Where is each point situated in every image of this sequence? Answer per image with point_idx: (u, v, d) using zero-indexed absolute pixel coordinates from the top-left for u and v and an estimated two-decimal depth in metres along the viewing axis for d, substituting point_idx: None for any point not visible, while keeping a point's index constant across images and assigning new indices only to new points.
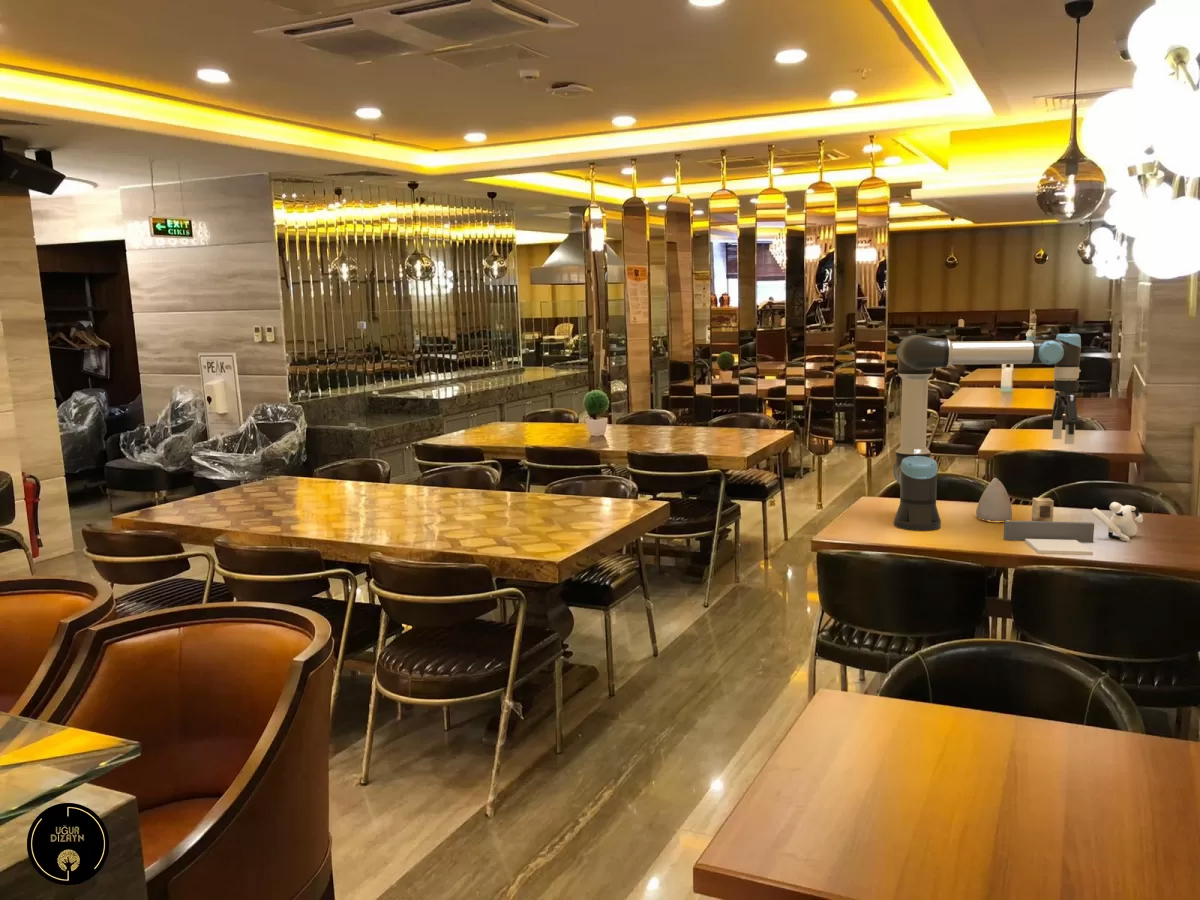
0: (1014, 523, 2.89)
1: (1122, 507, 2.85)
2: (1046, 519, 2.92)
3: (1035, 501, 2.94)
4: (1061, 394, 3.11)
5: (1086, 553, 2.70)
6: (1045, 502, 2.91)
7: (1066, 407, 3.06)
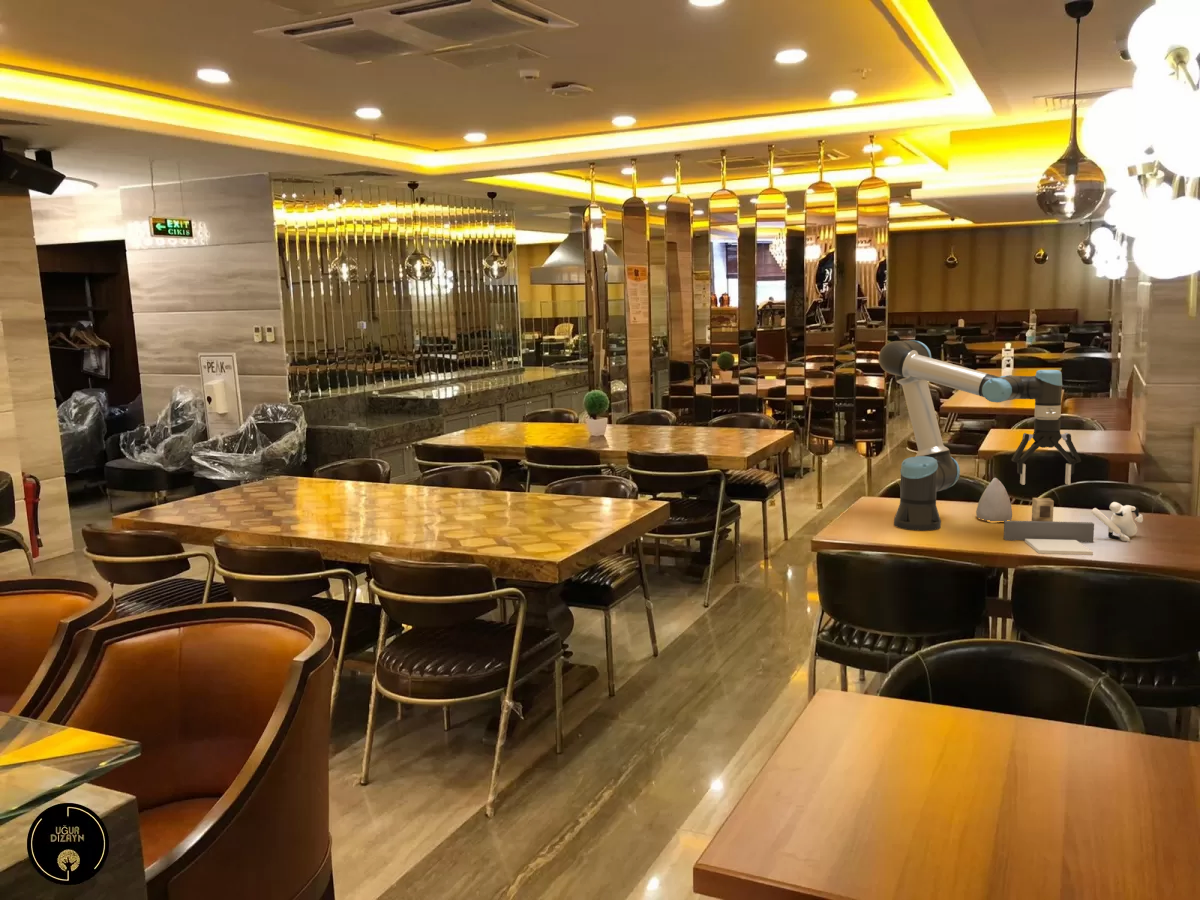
0: (1014, 523, 2.89)
1: (1122, 507, 2.85)
2: (1046, 519, 2.92)
3: (1035, 501, 2.94)
4: None
5: (1086, 553, 2.70)
6: (1045, 502, 2.91)
7: (1031, 446, 2.93)
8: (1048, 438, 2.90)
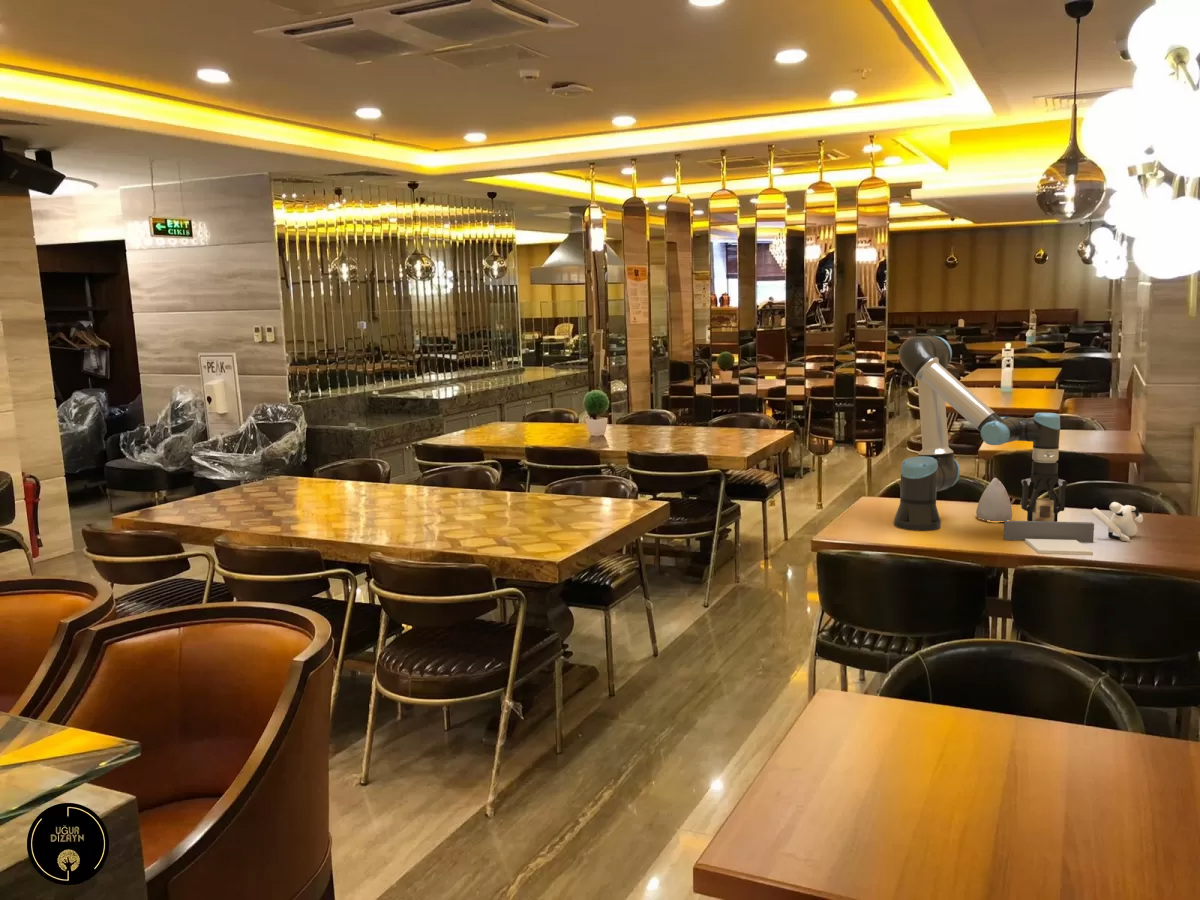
0: (1014, 523, 2.89)
1: (1122, 507, 2.85)
2: (1046, 519, 2.92)
3: None
4: None
5: (1086, 553, 2.70)
6: (1045, 502, 2.91)
7: (1033, 491, 2.95)
8: (1046, 479, 2.92)
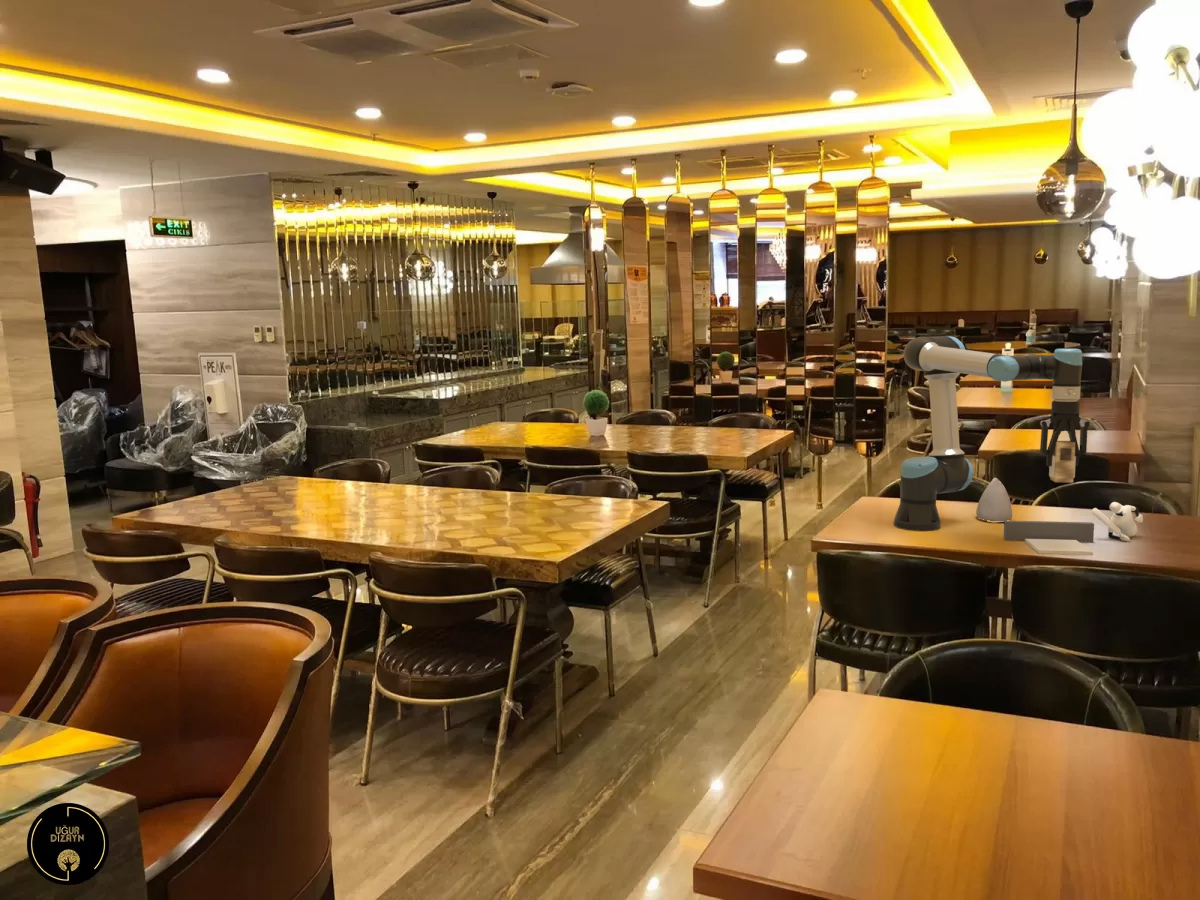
0: (1014, 523, 2.89)
1: (1122, 507, 2.85)
2: (1067, 462, 2.73)
3: None
4: None
5: (1086, 553, 2.70)
6: (1066, 444, 2.72)
7: (1053, 433, 2.75)
8: (1067, 420, 2.72)
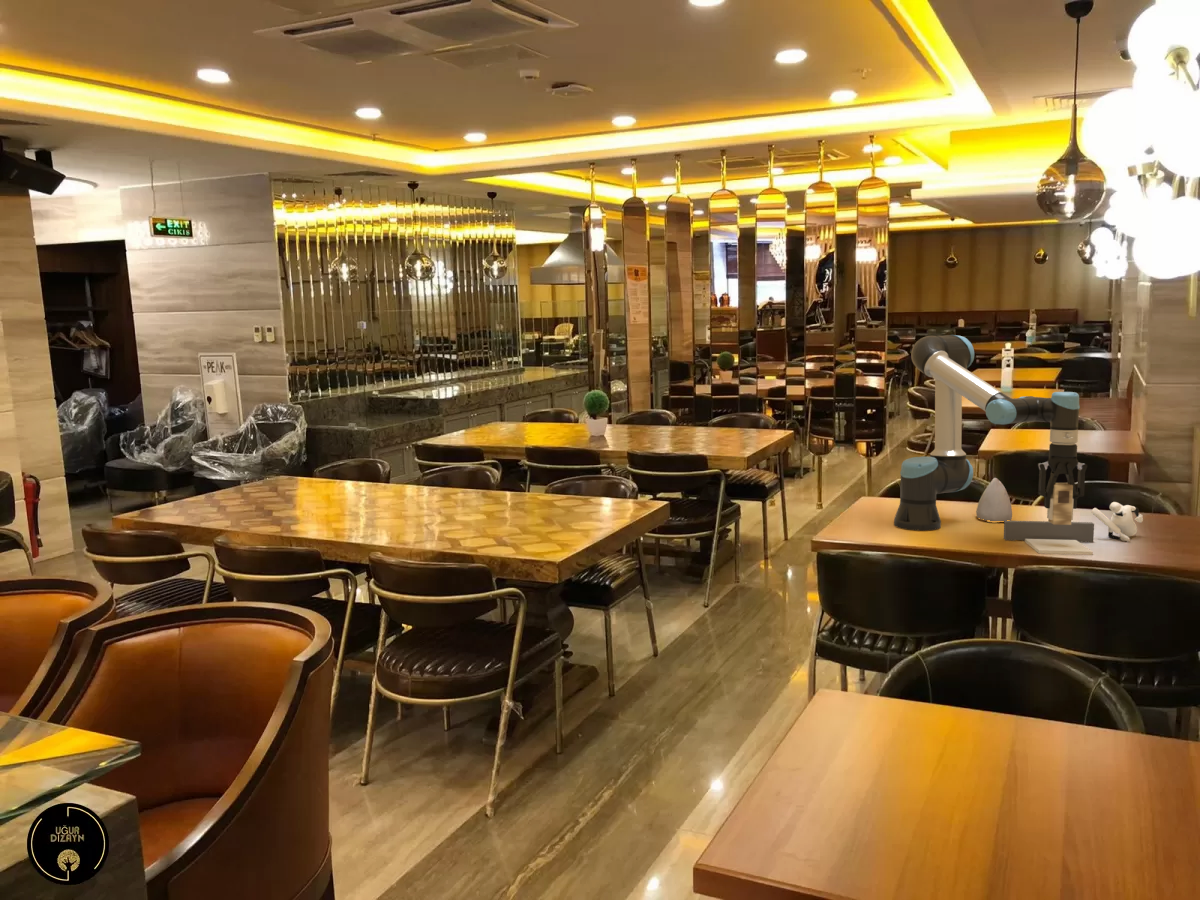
0: (1014, 523, 2.89)
1: (1122, 507, 2.85)
2: (1065, 505, 2.74)
3: None
4: None
5: (1086, 553, 2.70)
6: (1064, 487, 2.74)
7: (1050, 476, 2.77)
8: (1064, 463, 2.74)
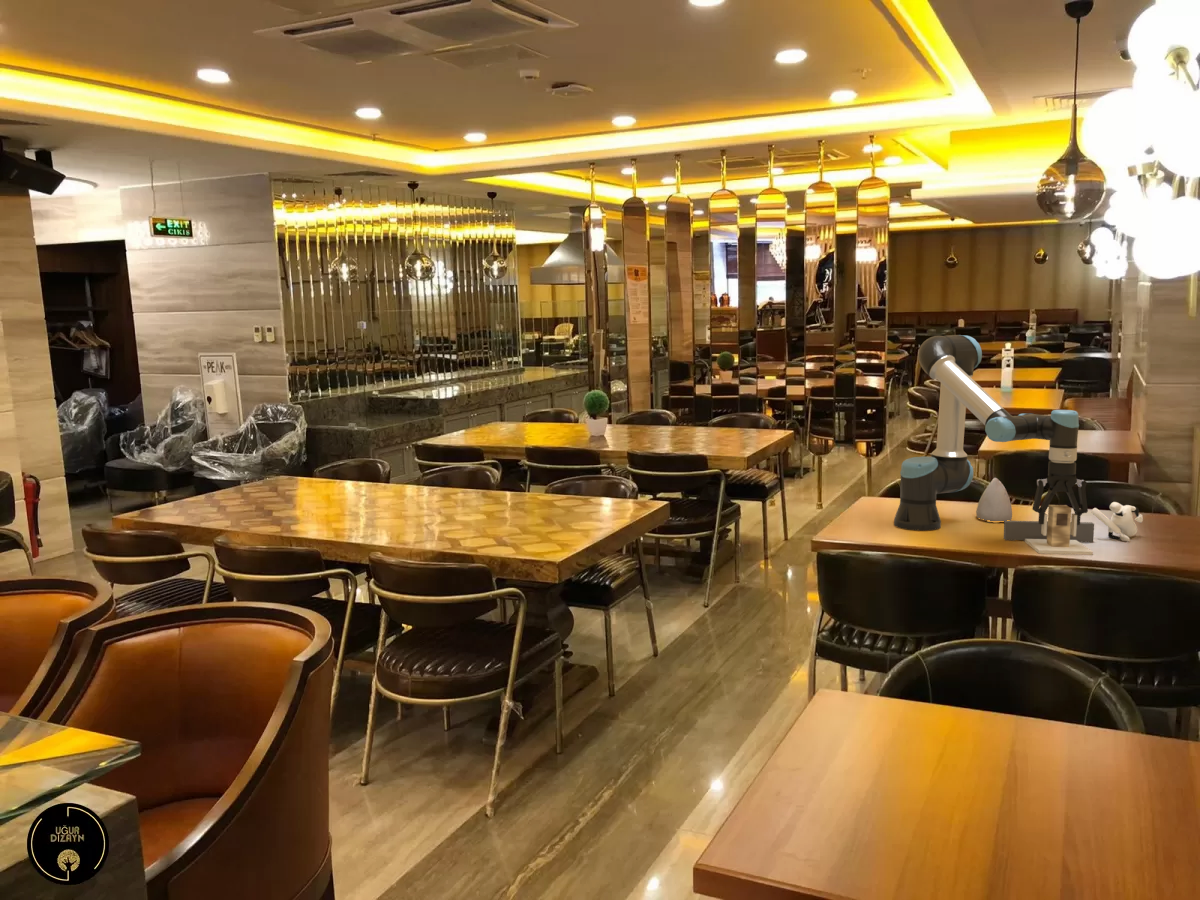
0: (1014, 523, 2.89)
1: (1122, 507, 2.85)
2: (1063, 527, 2.75)
3: (1051, 508, 2.77)
4: None
5: (1086, 553, 2.70)
6: (1062, 509, 2.75)
7: (1048, 492, 2.78)
8: (1063, 481, 2.75)
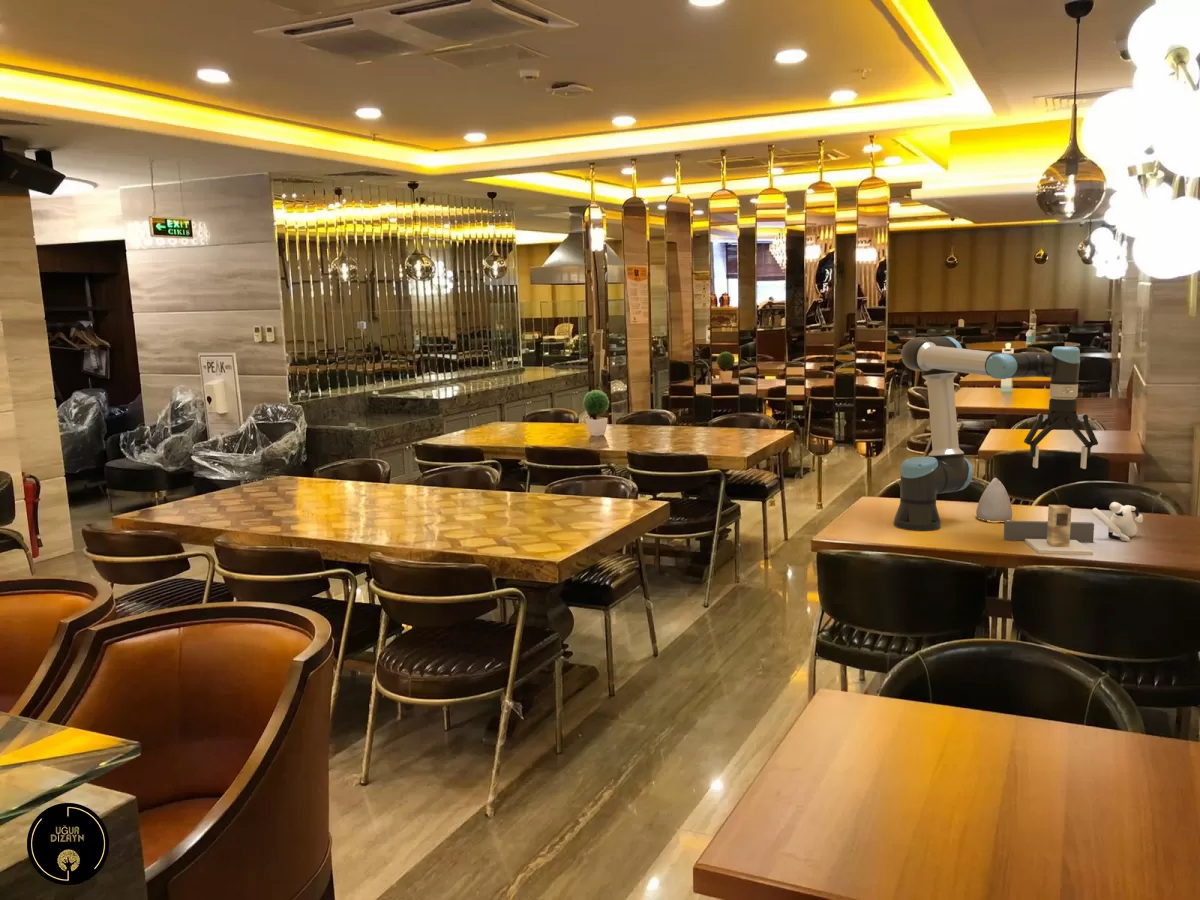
0: (1014, 523, 2.89)
1: (1122, 507, 2.85)
2: (1063, 527, 2.75)
3: (1051, 508, 2.77)
4: None
5: (1086, 553, 2.70)
6: (1062, 509, 2.75)
7: (1045, 427, 2.77)
8: (1064, 419, 2.73)
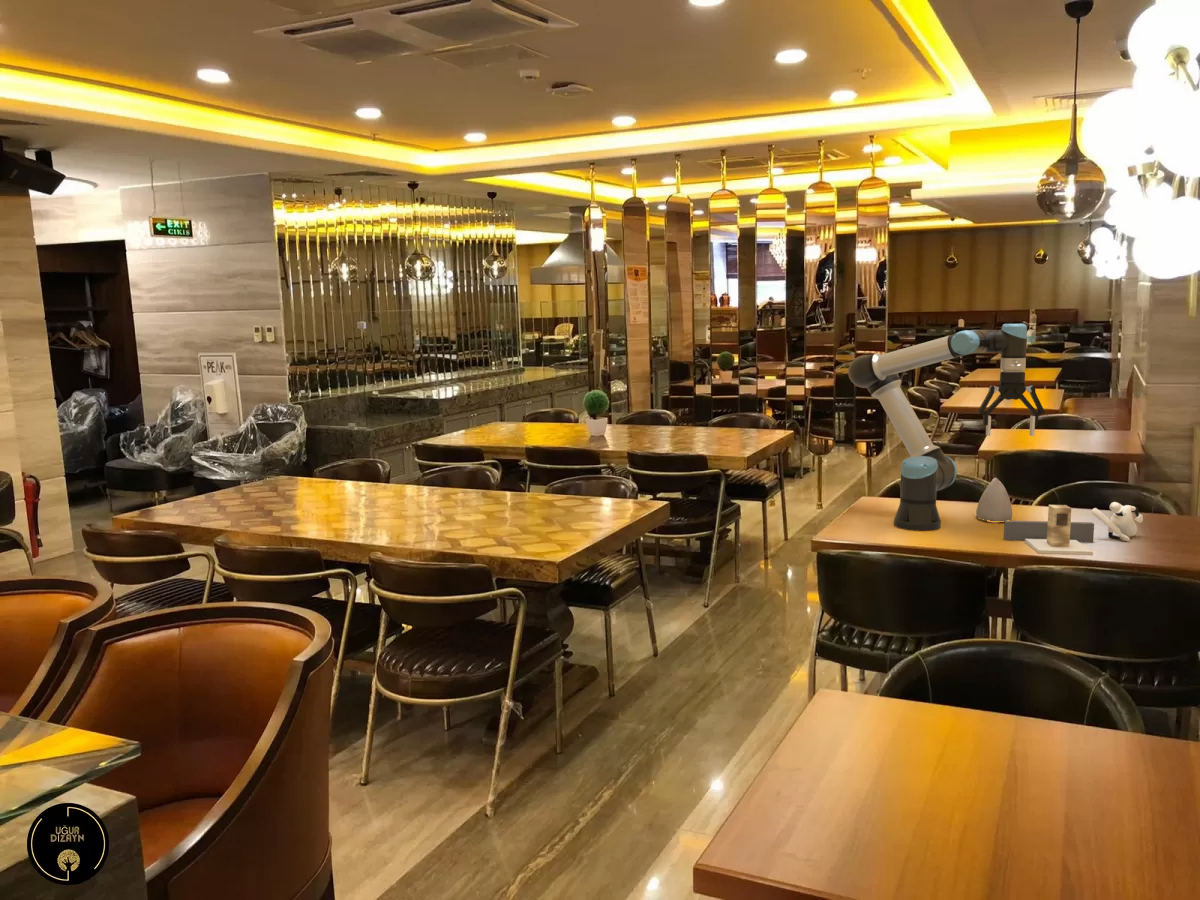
0: (1014, 523, 2.89)
1: (1122, 507, 2.85)
2: (1063, 527, 2.75)
3: (1051, 508, 2.77)
4: None
5: (1086, 553, 2.70)
6: (1062, 509, 2.75)
7: None
8: (1013, 390, 2.97)
